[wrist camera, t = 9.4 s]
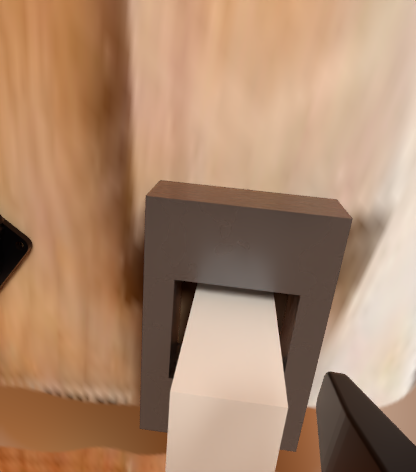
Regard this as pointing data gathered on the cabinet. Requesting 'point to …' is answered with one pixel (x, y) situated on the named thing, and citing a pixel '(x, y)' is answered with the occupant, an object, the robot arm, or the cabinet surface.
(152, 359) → the square hole rail
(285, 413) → the square peg
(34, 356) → the cabinet surface
